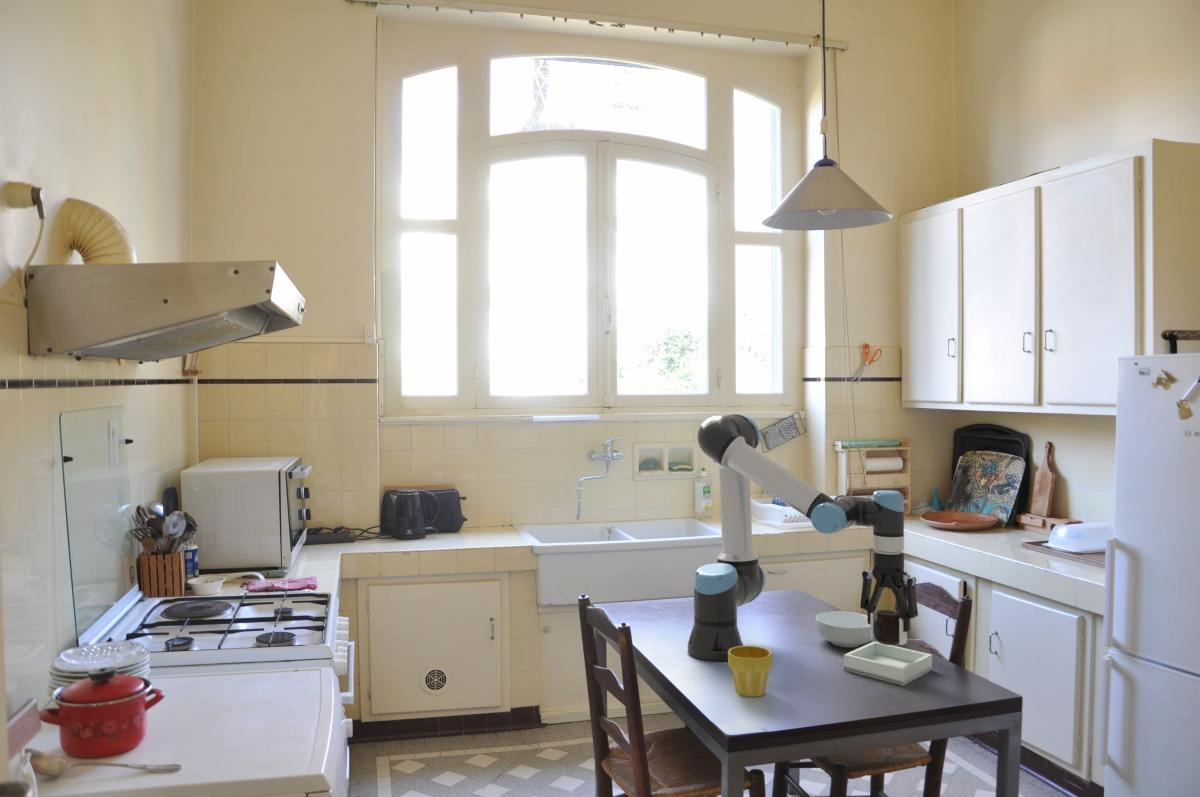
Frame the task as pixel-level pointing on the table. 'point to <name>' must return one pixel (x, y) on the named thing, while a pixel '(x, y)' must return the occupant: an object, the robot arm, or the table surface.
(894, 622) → the mate gourd
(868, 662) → the open box
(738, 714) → the table surface
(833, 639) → the cereal bowl
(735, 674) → the plant pot
